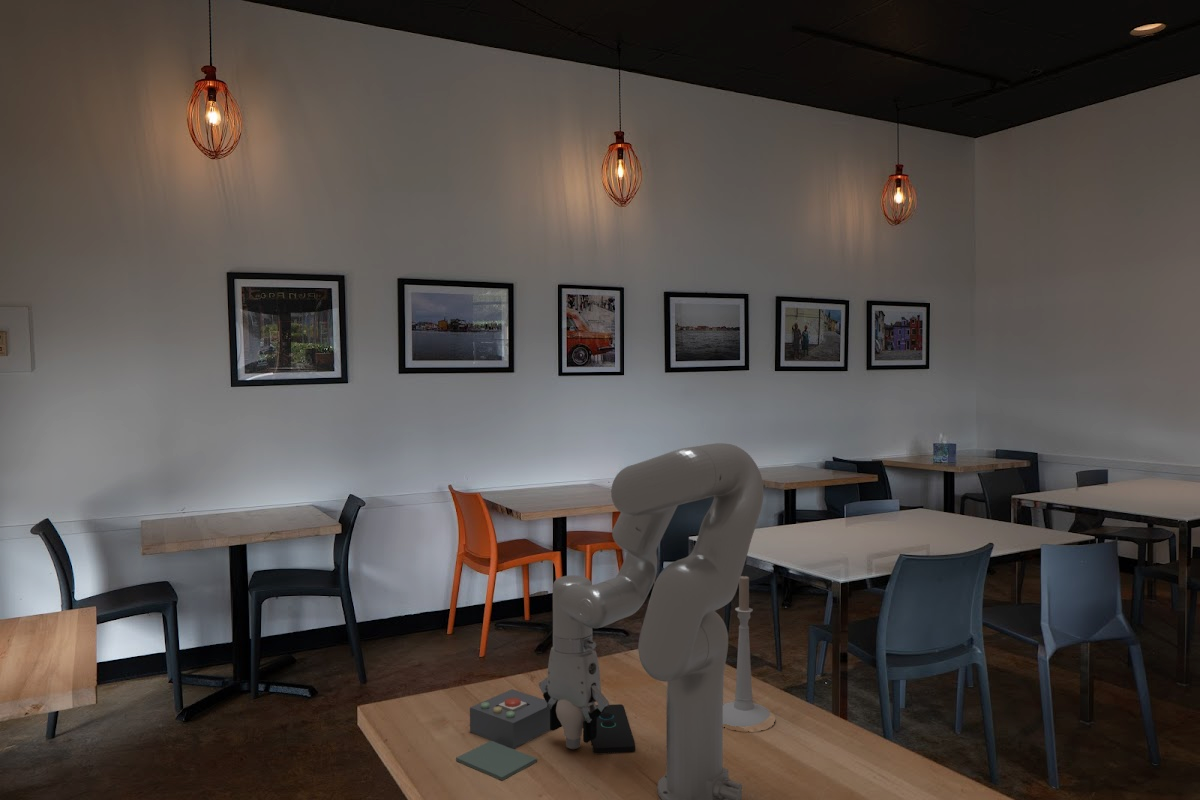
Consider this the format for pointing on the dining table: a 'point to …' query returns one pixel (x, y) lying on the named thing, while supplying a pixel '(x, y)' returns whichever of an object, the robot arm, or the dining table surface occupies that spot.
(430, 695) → the dining table surface
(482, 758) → the mat
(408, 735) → the dining table surface
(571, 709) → the light bulb
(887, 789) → the dining table surface
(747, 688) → the candlestick
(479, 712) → the grey button control box
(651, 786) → the dining table surface
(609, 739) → the smart home device
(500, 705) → the button
